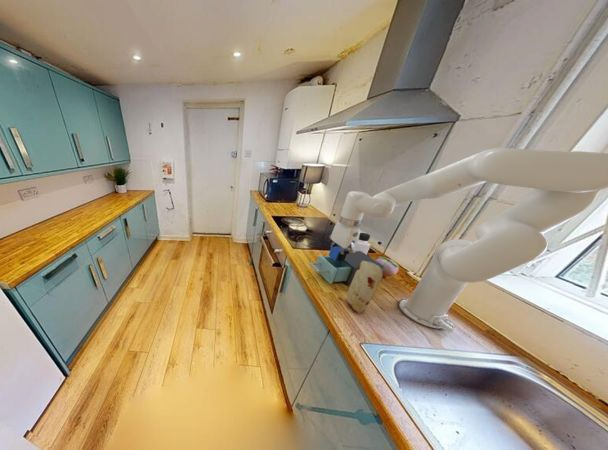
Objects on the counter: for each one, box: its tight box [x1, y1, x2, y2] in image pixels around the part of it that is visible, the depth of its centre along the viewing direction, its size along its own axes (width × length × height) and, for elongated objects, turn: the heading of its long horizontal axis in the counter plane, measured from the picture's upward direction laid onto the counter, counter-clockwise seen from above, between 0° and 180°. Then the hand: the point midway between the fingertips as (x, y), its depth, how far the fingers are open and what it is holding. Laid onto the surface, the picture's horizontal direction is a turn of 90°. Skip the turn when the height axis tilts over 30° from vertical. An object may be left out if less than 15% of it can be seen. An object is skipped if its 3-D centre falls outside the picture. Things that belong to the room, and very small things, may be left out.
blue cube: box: [328, 246, 342, 261], centre depth 89 cm, size 4×4×4 cm
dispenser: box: [342, 251, 384, 286], centre depth 94 cm, size 15×13×10 cm
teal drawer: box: [308, 254, 352, 285], centre depth 93 cm, size 19×11×8 cm, turn 97°
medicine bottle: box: [355, 231, 372, 256], centre depth 114 cm, size 7×7×12 cm
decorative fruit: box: [374, 256, 400, 277], centre depth 95 cm, size 9×8×10 cm
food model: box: [346, 261, 383, 314], centre depth 74 cm, size 10×7×20 cm
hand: (336, 257), depth 90 cm, fingers closed on blue cube, 4 cm apart
